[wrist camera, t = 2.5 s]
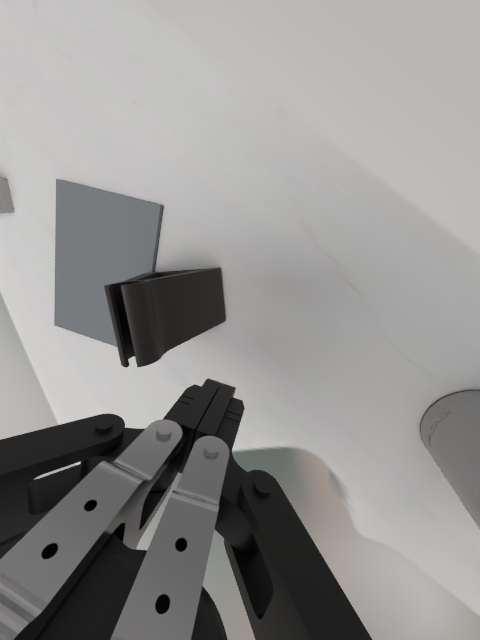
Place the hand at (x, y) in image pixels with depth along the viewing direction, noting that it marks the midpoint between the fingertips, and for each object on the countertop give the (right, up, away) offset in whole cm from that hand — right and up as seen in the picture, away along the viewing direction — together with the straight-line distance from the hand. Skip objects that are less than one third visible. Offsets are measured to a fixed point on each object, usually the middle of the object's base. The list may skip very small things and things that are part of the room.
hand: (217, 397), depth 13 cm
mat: (-15, +10, +18) cm, 26 cm away
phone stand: (-5, +7, +16) cm, 18 cm away
